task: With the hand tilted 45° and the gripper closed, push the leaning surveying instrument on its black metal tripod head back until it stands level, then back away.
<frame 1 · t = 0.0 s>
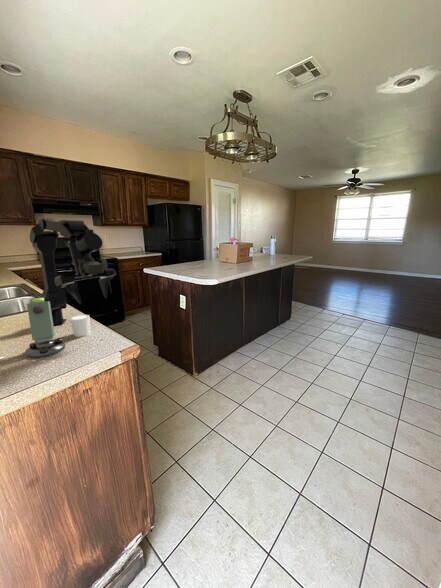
hand: (93, 300, 87), 15 cm above the counter, tool pointing down, fingers open, 9 cm apart
white cup: (82, 334, 97), on the counter
instrument: (40, 320, 82), point 11 cm above the counter, hinge at -14.0°
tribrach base: (46, 350, 84), on the counter
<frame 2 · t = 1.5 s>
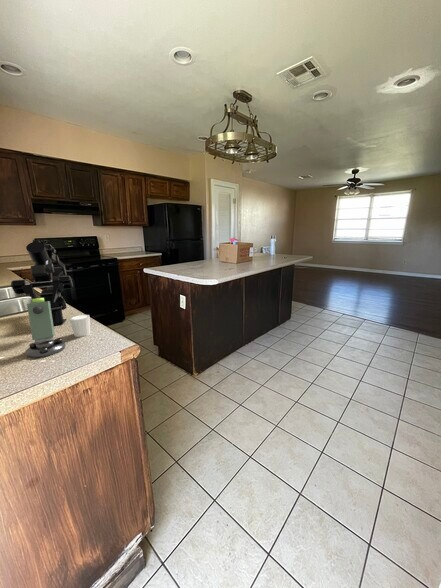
hand: (44, 303, 92), 14 cm above the counter, tool tilted 45°, fingers open, 5 cm apart
nothing on the counter moved.
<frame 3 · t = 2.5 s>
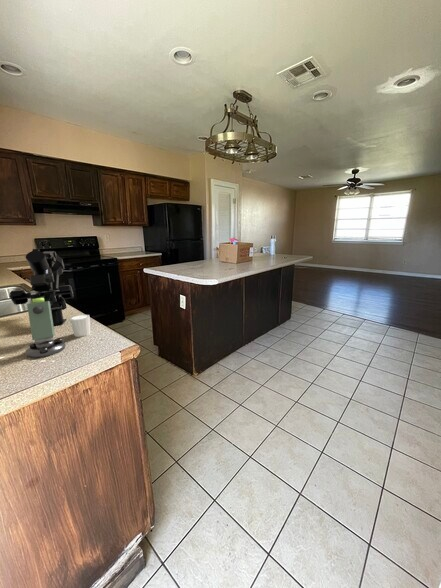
hand: (44, 314, 89), 11 cm above the counter, tool tilted 45°, fingers closed
nothing on the counter moved.
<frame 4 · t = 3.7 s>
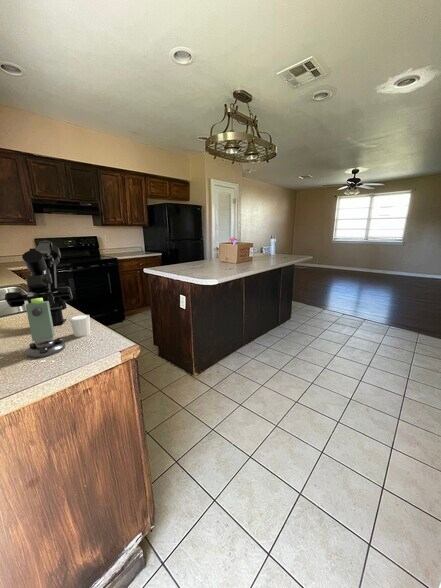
hand: (41, 317, 84), 11 cm above the counter, tool tilted 45°, fingers closed, pressing on instrument
instrument: (40, 321, 81), point 11 cm above the counter, hinge at -5.5°, touching gripper
everything else where it was.
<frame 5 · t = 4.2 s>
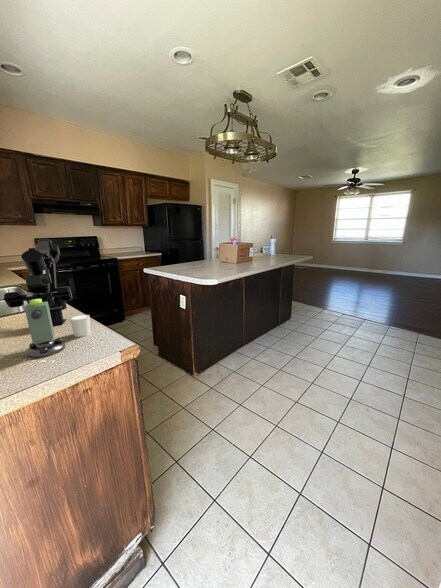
hand: (40, 317, 83), 11 cm above the counter, tool tilted 45°, fingers closed, pressing on instrument
instrument: (39, 322, 80), point 10 cm above the counter, hinge at 3.2°, touching gripper
everything else where it was.
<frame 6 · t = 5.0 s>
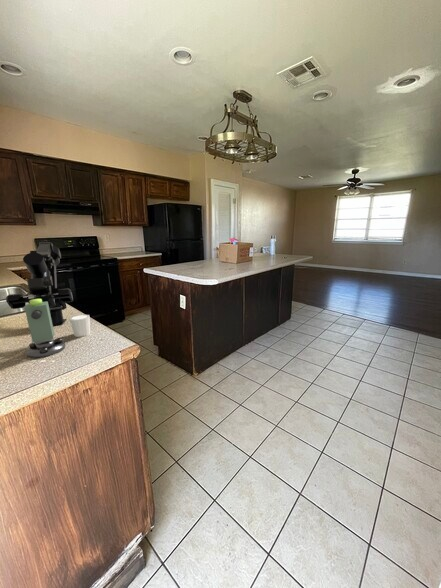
hand: (42, 319, 85), 10 cm above the counter, tool tilted 45°, fingers closed
instrument: (39, 322, 80), point 10 cm above the counter, hinge at 2.9°
everything else where it was.
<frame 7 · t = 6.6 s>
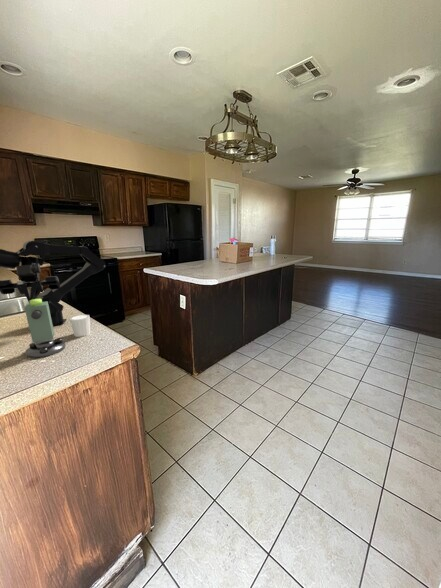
hand: (30, 303, 91), 14 cm above the counter, tool tilted 45°, fingers closed
nothing on the counter moved.
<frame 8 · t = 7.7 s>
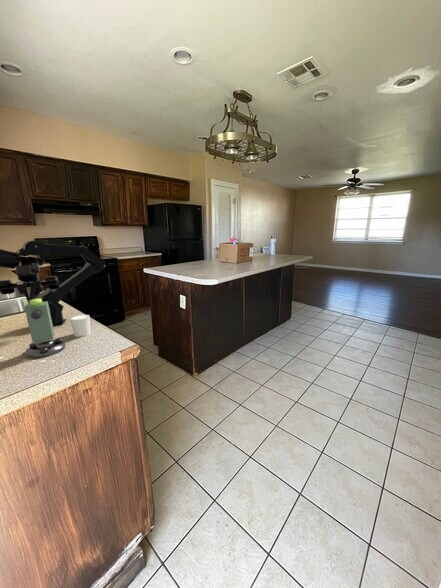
hand: (30, 303, 91), 14 cm above the counter, tool tilted 45°, fingers closed
nothing on the counter moved.
at the end: instrument at +3° (first picture: -14°); white cup moved 0.2 cm from its start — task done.
